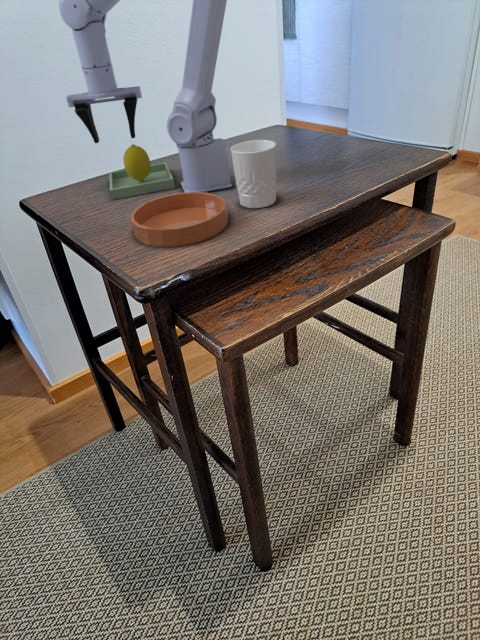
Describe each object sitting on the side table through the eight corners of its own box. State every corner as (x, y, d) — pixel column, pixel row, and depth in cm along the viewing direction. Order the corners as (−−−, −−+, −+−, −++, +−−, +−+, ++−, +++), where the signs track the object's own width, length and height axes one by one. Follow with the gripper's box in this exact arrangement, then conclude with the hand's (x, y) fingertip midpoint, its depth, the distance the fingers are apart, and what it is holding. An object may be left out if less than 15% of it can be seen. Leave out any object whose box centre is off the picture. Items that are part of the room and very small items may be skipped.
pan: (217, 201, 85) (215, 186, 84) (237, 234, 72) (235, 217, 71) (132, 217, 83) (128, 202, 81) (137, 254, 70) (133, 237, 68)
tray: (168, 170, 105) (166, 162, 104) (175, 188, 94) (173, 178, 93) (111, 181, 103) (109, 172, 102) (112, 199, 92) (109, 190, 91)
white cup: (243, 213, 79) (237, 155, 73) (232, 199, 86) (225, 144, 80) (285, 204, 80) (282, 147, 75) (271, 191, 87) (267, 137, 81)
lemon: (150, 176, 101) (141, 139, 97) (157, 182, 97) (149, 144, 92) (126, 182, 100) (116, 144, 95) (132, 188, 95) (122, 149, 91)
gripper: (55, 73, 83) (77, 149, 91) (133, 63, 84) (148, 139, 92) (62, 69, 89) (83, 140, 97) (135, 60, 90) (149, 131, 97)
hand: (115, 139), depth 95 cm, fingers open, 7 cm apart
